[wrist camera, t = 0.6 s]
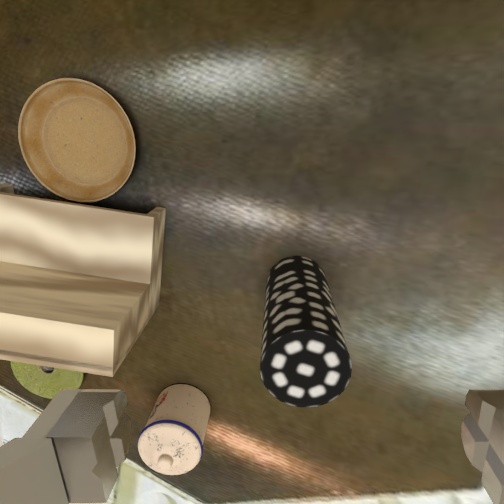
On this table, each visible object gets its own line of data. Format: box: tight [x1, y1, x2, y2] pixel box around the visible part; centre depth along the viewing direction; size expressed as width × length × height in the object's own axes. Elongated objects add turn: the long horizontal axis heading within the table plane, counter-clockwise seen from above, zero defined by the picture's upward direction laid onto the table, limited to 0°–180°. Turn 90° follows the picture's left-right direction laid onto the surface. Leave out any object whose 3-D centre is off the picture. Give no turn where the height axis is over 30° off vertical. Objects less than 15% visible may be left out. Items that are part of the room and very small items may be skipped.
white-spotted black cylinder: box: [260, 256, 352, 407], centre depth 46 cm, size 8×8×20 cm
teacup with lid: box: [138, 384, 210, 475], centre depth 58 cm, size 12×9×12 cm
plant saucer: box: [18, 78, 136, 202], centre depth 50 cm, size 15×15×3 cm
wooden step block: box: [0, 184, 166, 377], centre depth 47 cm, size 14×22×17 cm, turn 82°
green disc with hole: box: [11, 361, 83, 399], centre depth 61 cm, size 11×11×2 cm
